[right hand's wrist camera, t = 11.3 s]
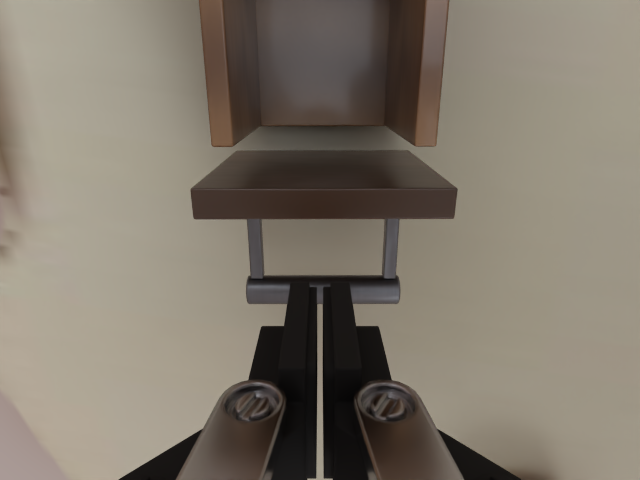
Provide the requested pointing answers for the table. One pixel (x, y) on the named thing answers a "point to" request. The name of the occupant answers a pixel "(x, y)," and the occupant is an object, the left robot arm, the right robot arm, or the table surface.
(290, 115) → the drawer
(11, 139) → the table surface
